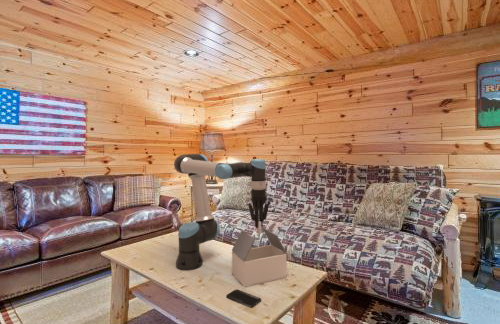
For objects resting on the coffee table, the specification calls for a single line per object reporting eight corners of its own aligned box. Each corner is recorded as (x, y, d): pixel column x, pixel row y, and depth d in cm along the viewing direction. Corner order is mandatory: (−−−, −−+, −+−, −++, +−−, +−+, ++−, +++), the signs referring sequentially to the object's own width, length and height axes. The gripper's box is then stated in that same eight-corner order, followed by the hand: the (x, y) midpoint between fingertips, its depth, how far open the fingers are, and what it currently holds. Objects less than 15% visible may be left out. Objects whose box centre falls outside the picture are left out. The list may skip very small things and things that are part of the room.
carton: (232, 274, 153) (232, 251, 152) (271, 265, 163) (271, 244, 162) (244, 287, 139) (244, 262, 138) (286, 277, 149) (286, 254, 148)
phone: (236, 288, 136) (262, 298, 127) (236, 291, 136) (262, 301, 127) (225, 295, 129) (251, 306, 120) (225, 298, 129) (251, 309, 120)
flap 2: (261, 227, 159) (262, 227, 159) (271, 244, 162) (271, 243, 162) (276, 235, 145) (276, 234, 145) (285, 253, 148) (286, 252, 148)
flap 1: (232, 250, 152) (231, 250, 152) (242, 230, 154) (241, 230, 154) (244, 261, 138) (243, 261, 138) (255, 238, 140) (254, 238, 140)
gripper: (250, 190, 142) (250, 237, 143) (273, 188, 148) (273, 233, 149) (244, 188, 149) (244, 233, 150) (266, 187, 154) (266, 230, 156)
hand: (258, 233), depth 150 cm, fingers closed
